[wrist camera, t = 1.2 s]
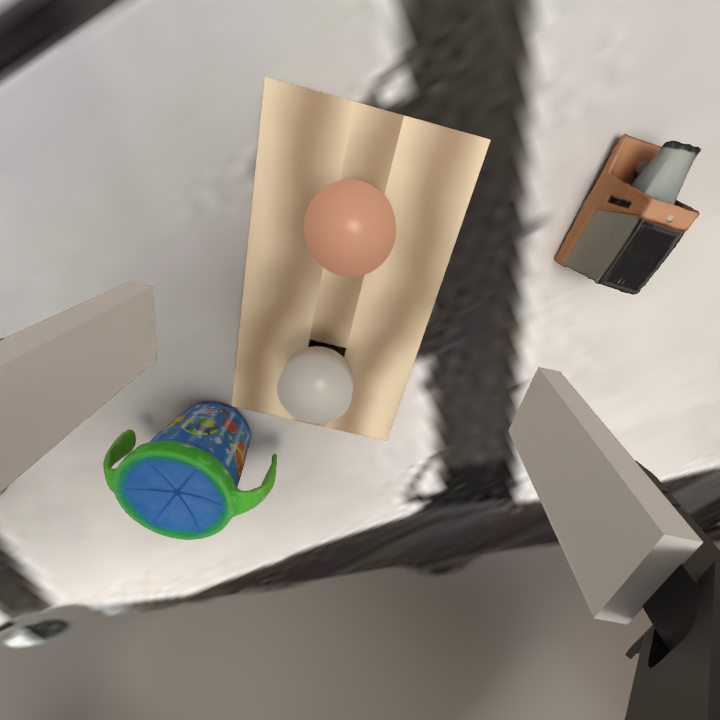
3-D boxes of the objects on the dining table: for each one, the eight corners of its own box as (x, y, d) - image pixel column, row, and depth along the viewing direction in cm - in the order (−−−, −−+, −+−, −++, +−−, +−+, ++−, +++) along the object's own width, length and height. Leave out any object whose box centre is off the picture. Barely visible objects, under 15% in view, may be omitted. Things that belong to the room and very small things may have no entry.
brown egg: (314, 244, 28) (296, 264, 23) (328, 167, 26) (312, 168, 20) (382, 262, 29) (382, 286, 23) (402, 187, 26) (407, 193, 21)
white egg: (291, 371, 33) (272, 414, 27) (301, 316, 31) (282, 351, 25) (349, 384, 34) (343, 430, 28) (363, 331, 31) (359, 369, 25)
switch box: (252, 372, 39) (231, 405, 33) (287, 93, 28) (264, 76, 23) (386, 403, 40) (386, 440, 34) (470, 144, 29) (490, 139, 23)
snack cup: (145, 446, 44) (83, 519, 35) (147, 369, 39) (76, 430, 30) (278, 479, 45) (252, 558, 36) (295, 407, 40) (271, 477, 31)
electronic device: (669, 151, 28) (756, 148, 22) (599, 275, 33) (653, 304, 26) (614, 134, 28) (686, 125, 21) (550, 261, 33) (593, 287, 26)
